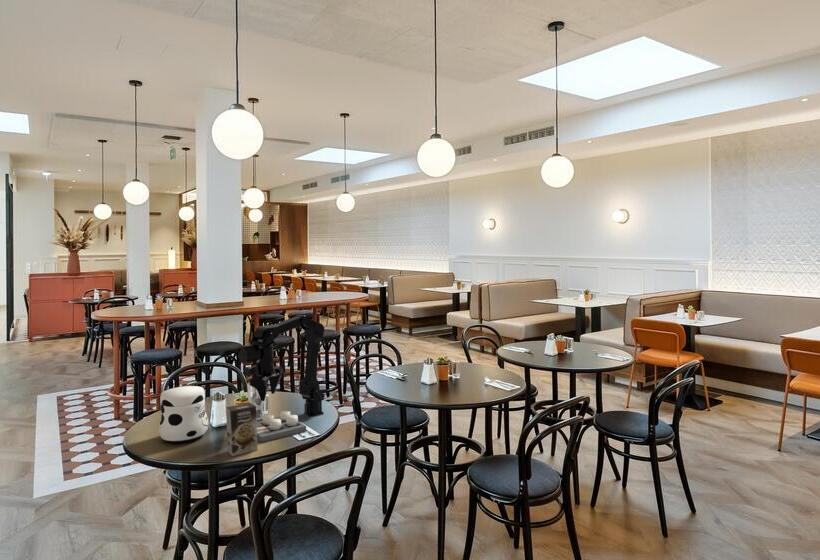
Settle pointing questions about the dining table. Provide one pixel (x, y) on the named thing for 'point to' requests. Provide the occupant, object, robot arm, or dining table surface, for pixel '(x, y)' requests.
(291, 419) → the button
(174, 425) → the milk container
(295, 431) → the puzzle board
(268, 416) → the button
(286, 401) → the dining table surface
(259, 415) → the beer glass
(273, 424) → the button
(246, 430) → the coffee box
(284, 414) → the button
